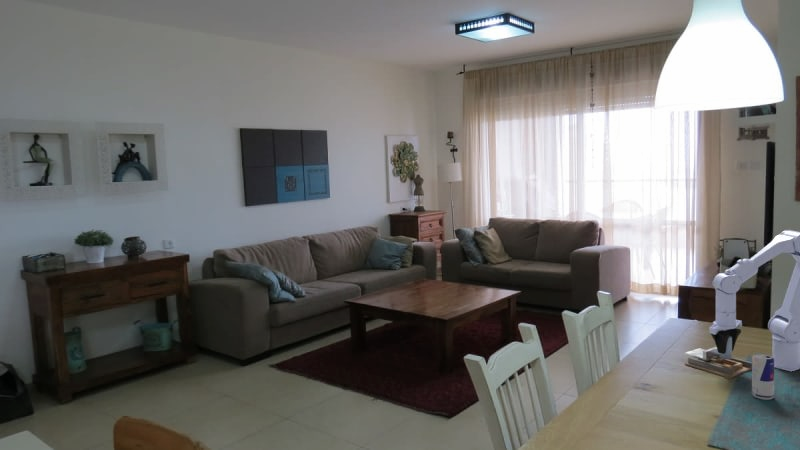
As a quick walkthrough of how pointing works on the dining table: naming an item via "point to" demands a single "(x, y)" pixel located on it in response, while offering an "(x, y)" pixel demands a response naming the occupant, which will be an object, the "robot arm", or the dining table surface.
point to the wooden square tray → (721, 366)
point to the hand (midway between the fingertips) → (725, 351)
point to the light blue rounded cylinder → (727, 350)
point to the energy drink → (763, 376)
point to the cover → (703, 353)
